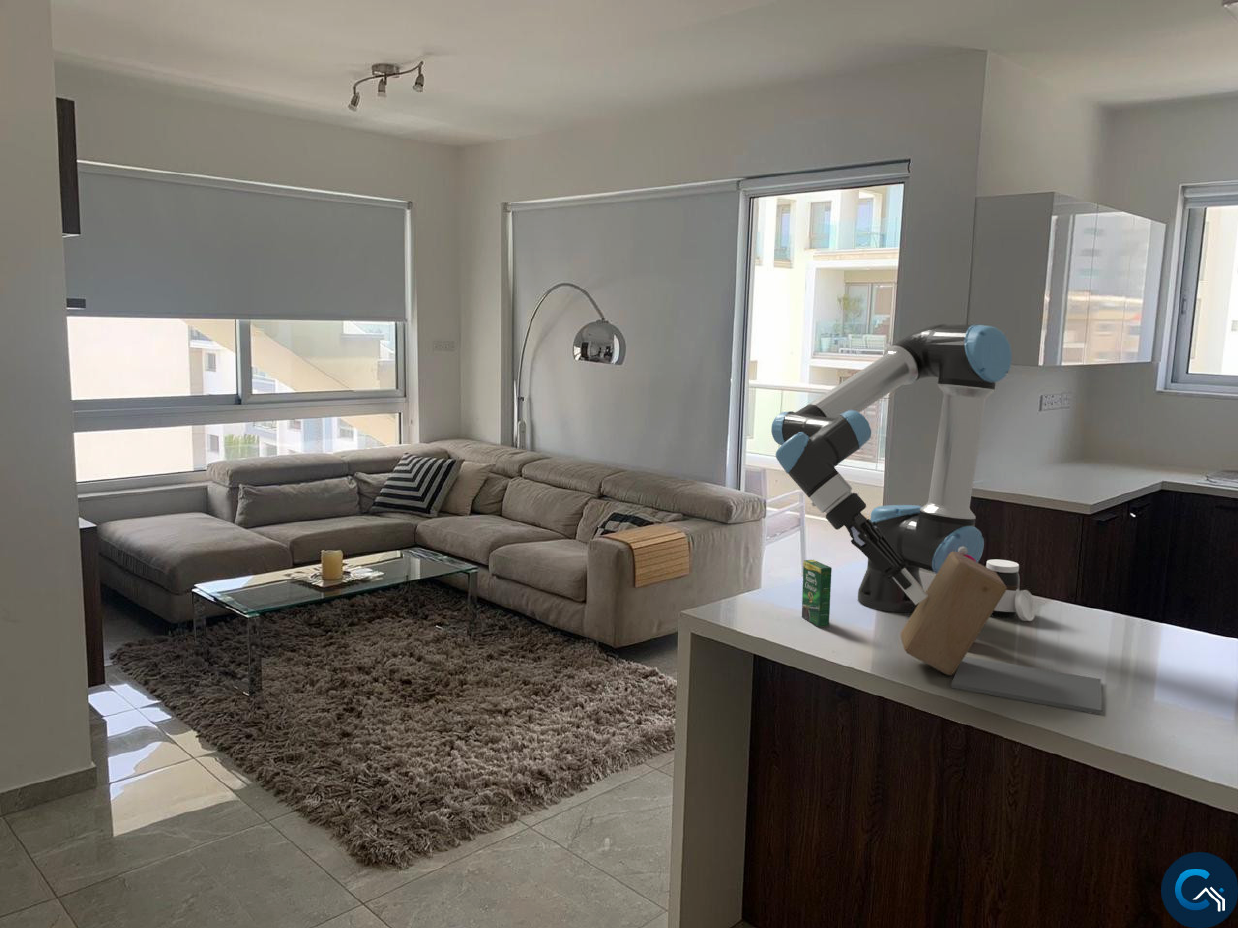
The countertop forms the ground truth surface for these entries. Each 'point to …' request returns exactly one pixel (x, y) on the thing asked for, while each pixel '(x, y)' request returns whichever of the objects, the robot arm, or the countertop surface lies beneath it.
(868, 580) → the robot arm
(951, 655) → the wooden block
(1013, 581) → the spread jar
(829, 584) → the coffee box
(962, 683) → the mat
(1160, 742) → the countertop surface
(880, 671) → the countertop surface
